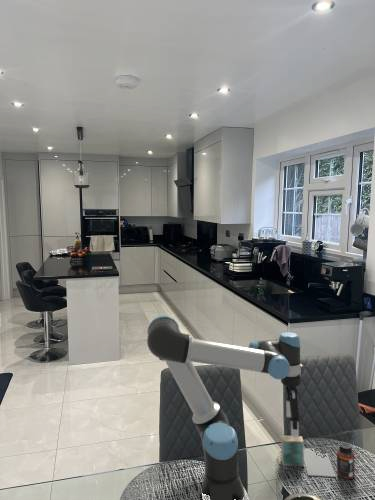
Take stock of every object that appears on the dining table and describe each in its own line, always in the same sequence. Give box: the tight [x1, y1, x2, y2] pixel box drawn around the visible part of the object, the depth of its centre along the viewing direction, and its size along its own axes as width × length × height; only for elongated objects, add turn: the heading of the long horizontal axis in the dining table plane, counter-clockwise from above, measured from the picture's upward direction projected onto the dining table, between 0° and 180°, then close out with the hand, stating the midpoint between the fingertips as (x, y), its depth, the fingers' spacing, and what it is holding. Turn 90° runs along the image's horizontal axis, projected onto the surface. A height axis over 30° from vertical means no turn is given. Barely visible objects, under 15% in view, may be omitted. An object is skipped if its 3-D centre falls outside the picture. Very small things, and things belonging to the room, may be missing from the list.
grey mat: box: [304, 447, 337, 478], centre depth 142 cm, size 10×16×1 cm, turn 172°
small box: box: [280, 435, 305, 467], centre depth 142 cm, size 8×4×10 cm, turn 82°
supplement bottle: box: [336, 441, 356, 480], centre depth 134 cm, size 6×6×11 cm
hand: (292, 426), depth 141 cm, fingers open, 13 cm apart
